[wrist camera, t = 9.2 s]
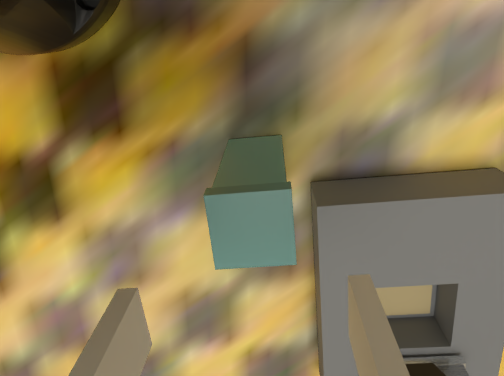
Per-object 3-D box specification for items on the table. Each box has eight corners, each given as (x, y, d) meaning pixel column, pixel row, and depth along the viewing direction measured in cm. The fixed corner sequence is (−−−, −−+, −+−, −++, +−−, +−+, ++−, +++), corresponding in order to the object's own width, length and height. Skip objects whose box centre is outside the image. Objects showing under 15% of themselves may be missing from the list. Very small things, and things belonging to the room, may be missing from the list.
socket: (310, 182, 31) (316, 206, 27) (496, 167, 30) (532, 191, 26) (319, 371, 39) (325, 413, 34) (467, 365, 38) (492, 407, 33)
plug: (225, 137, 30) (203, 195, 20) (284, 132, 30) (291, 189, 19) (232, 190, 32) (215, 269, 21) (287, 186, 31) (296, 264, 21)
